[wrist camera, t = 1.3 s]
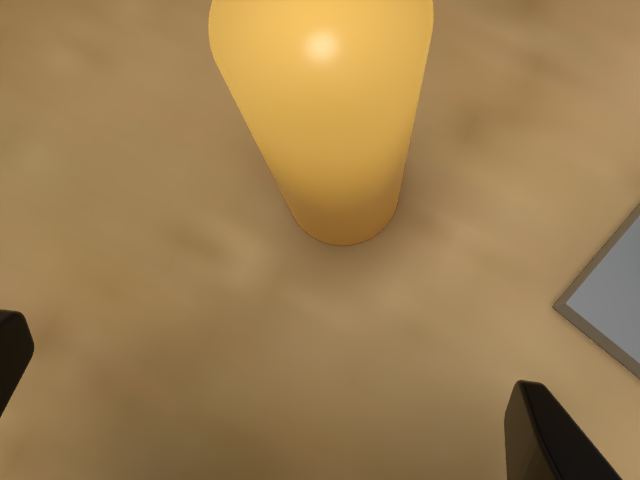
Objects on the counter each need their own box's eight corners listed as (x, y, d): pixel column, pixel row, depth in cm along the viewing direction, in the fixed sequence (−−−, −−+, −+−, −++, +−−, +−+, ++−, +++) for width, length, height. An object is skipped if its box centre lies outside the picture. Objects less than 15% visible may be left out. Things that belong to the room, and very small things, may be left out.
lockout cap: (407, 237, 23) (453, 101, 11) (294, 253, 23) (218, 138, 11) (389, 132, 24) (412, -96, 12) (282, 148, 25) (200, -59, 12)
